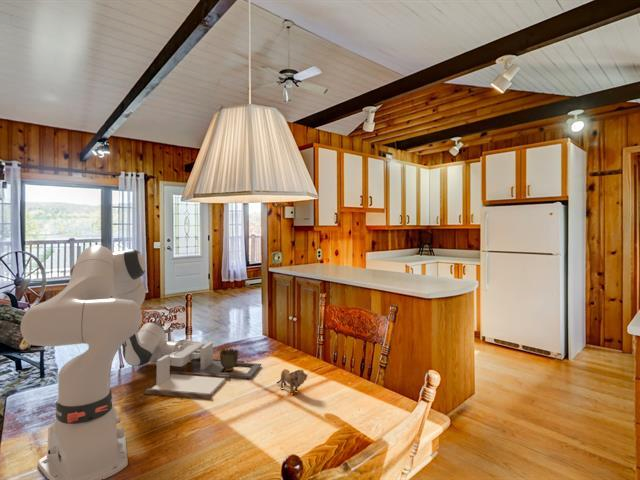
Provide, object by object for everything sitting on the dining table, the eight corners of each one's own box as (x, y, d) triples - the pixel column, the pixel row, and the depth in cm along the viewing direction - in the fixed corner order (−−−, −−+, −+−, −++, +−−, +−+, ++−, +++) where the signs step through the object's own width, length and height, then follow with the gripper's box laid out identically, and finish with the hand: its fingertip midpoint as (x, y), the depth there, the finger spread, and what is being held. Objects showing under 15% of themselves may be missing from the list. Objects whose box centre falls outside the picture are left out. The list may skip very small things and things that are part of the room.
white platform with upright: (225, 380, 136) (225, 355, 136) (209, 396, 122) (209, 368, 122) (171, 376, 139) (171, 351, 138) (150, 391, 125) (150, 364, 125)
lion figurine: (309, 394, 126) (309, 369, 126) (298, 399, 122) (299, 373, 122) (281, 382, 136) (282, 358, 136) (270, 386, 132) (271, 362, 132)
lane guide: (244, 364, 154) (244, 360, 154) (210, 399, 121) (210, 394, 121) (191, 360, 157) (191, 357, 157) (145, 393, 124) (145, 389, 124)
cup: (236, 374, 143) (236, 354, 143) (217, 374, 142) (217, 354, 142) (239, 367, 150) (239, 348, 150) (222, 367, 150) (222, 348, 150)
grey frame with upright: (261, 366, 151) (261, 343, 151) (250, 378, 138) (251, 353, 138) (212, 362, 154) (212, 340, 154) (197, 374, 141) (197, 350, 141)
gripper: (159, 353, 139) (193, 355, 137) (186, 338, 159) (215, 340, 158) (159, 369, 139) (192, 371, 137) (185, 352, 159) (215, 354, 158)
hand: (205, 354), depth 148 cm, fingers closed, pressing on grey frame with upright
